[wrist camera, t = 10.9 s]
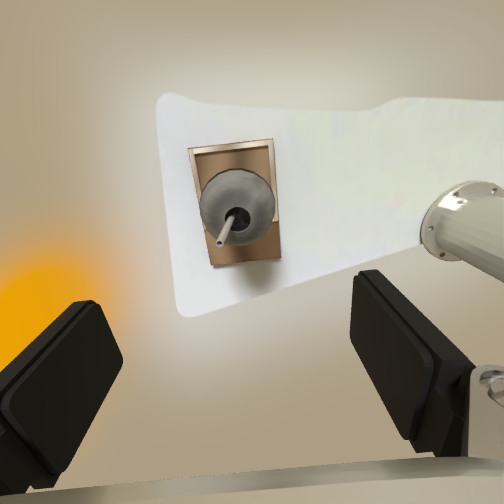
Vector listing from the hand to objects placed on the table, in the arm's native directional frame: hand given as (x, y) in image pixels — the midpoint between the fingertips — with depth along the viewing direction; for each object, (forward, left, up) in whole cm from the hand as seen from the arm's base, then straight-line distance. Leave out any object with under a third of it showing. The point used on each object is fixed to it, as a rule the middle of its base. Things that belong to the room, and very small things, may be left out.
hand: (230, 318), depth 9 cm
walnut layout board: (0, +3, -29) cm, 29 cm away
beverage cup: (0, 0, -28) cm, 28 cm away
